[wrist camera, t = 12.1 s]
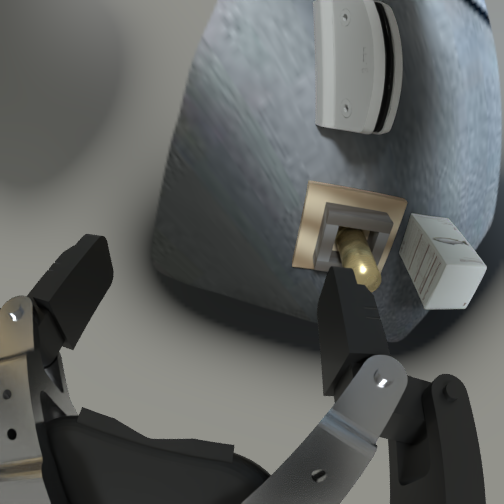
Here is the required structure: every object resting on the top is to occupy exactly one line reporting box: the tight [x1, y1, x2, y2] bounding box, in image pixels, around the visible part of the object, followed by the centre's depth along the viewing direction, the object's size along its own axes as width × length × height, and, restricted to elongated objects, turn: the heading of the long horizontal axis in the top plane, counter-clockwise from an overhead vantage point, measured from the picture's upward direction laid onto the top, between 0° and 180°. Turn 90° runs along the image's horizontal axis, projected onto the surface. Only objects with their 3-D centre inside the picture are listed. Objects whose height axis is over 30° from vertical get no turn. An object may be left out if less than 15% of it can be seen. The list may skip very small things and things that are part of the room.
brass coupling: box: [335, 226, 381, 293], centre depth 35 cm, size 4×4×10 cm
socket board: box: [292, 181, 407, 273], centre depth 39 cm, size 13×14×4 cm
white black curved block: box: [313, 0, 403, 135], centre depth 24 cm, size 17×5×10 cm, turn 3°
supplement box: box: [399, 213, 487, 309], centre depth 34 cm, size 7×7×13 cm
